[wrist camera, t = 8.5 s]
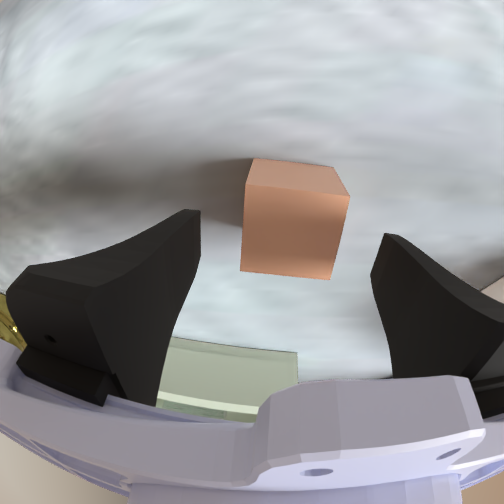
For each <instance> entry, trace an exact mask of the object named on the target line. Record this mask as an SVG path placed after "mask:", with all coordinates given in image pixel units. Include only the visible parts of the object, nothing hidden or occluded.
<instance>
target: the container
mask: <svg viewBox="0 0 504 504" xmlns="http://www.w3.org/2000/svg"><path fill="white" fill-rule="evenodd" d="M480 292H482V293H484V294H485V295H487V296H489V297H491V298H493V299H495V300H497V301H499V302H501V303H503V304H504V277H502V278H501V279H499V280H498V281H496V282H495V283H493V284H491V285H490V286H488V287H487V288H485V289H483V290H482V291H480Z"/></svg>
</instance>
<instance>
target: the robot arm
mask: <svg viewBox="0 0 504 504" xmlns="http://www.w3.org/2000/svg"><path fill="white" fill-rule="evenodd" d="M200 257H201V233H200V210H189V209H184V210H182V211H180V212H178V213H176V214H174V215H172V216H171V217H169V218H167V219H165V220H164V221H162V222H160V223H158V224H157V225H155V226H153V227H151V228H149V229H147V230H145V231H143V232H141V233H140V234H138V235H136V236H134V237H132V238H130V239H127V240H125V241H123V242H120V243H118V244H115V245H113V246H110V247H108V248H105V249H102V250H99V251H96V252H93V253H90V254H86V255H83V256H79V257H75V258H71V259H66V260H62V261H56V262H50V263H43V264H37V265H29V266H28V267H27V268H26V269H25V270H24V271H23V272H22V273H21V274H20V275H19V277H18V278H17V279H16V280H15V281H14V282H13V283H12V284H11V285H10V287H9V288H8V289H7V291H6V304H7V308H8V311H9V313H10V315H11V317H12V319H13V321H14V323H15V325H16V327H17V328H18V330H19V332H20V334H21V335H22V337H23V339H24V341H25V342H26V344H27V346H26V348H25V349H24V351H23V352H22V351H21V350H20V349H18V348H17V347H16V346H14V345H12V344H10V343H8V342H6V341H4V340H2V339H0V432H1V433H3V434H5V435H6V436H7V437H9V438H10V439H12V440H13V441H15V442H17V443H18V444H20V445H21V446H23V447H24V448H26V449H28V450H29V451H31V452H33V453H34V454H36V455H38V456H40V457H41V458H43V459H45V460H47V461H48V462H50V463H52V464H54V465H56V466H58V467H60V468H61V469H63V470H65V471H67V472H69V473H71V474H73V475H76V476H78V477H80V478H82V479H84V480H86V481H88V482H91V483H93V484H95V485H98V486H100V487H102V488H105V489H107V490H110V491H113V492H115V493H118V494H121V495H123V496H126V497H128V501H127V504H463V503H462V495H461V490H463V489H466V488H468V487H470V486H473V485H475V484H477V483H479V482H482V481H484V480H486V479H488V478H490V477H492V476H494V475H496V474H498V473H500V472H502V471H504V304H503V303H501V302H499V301H497V300H495V299H493V298H491V297H489V296H487V295H485V294H484V293H482V292H480V291H478V290H476V289H475V288H473V287H471V286H470V285H468V284H467V283H465V282H464V281H462V280H460V279H459V278H457V277H456V276H455V275H453V274H452V273H450V272H449V271H448V270H446V269H445V268H443V267H442V266H441V265H439V264H438V263H437V262H435V261H434V260H433V259H432V258H430V257H429V256H428V255H426V254H425V253H424V252H422V251H421V250H420V249H418V248H417V247H416V246H414V245H413V244H412V243H410V242H409V241H407V240H406V239H404V238H403V237H401V236H399V235H395V234H389V233H384V236H383V239H382V242H381V245H380V248H379V251H378V254H377V257H376V260H375V262H374V265H373V268H372V271H371V274H370V277H371V283H372V289H373V294H374V298H375V301H376V304H377V308H378V311H379V314H380V317H381V320H382V324H383V327H384V330H385V333H386V337H387V341H388V345H389V349H390V356H391V363H392V372H393V378H392V379H329V380H319V381H309V382H300V383H298V384H295V385H293V386H290V387H287V388H284V389H282V390H279V391H276V392H275V393H273V394H271V395H270V396H269V397H268V398H267V400H266V401H265V402H264V403H263V404H262V405H261V406H260V407H259V409H258V413H257V417H256V422H255V423H245V422H236V421H228V420H221V419H214V418H208V417H202V416H196V415H190V414H185V413H180V412H175V411H170V410H166V409H161V408H157V407H156V402H157V396H158V391H159V386H160V381H161V376H162V371H163V367H164V363H165V359H166V355H167V351H168V347H169V343H170V339H171V336H172V332H173V329H174V326H175V323H176V320H177V318H178V315H179V313H180V311H181V308H182V306H183V304H184V301H185V299H186V297H187V294H188V292H189V290H190V287H191V285H192V283H193V280H194V278H195V275H196V272H197V268H198V264H199V261H200Z"/></svg>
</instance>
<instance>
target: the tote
mask: <svg viewBox="0 0 504 504" xmlns="http://www.w3.org/2000/svg"><path fill="white" fill-rule="evenodd" d="M295 384H298V363H297V353H291V352H280V351H269V350H260V349H251V348H242V347H234V346H227V345H219V344H212V343H206V342H199V341H193V340H187V339H181V338H175V337H171V339H170V343H169V347H168V351H167V355H166V359H165V363H164V367H163V371H162V376H161V381H160V386H159V391H158V396H157V402H156V407H157V408H161V409H162V406H163V403H164V400H168V401H173V402H178V403H183V404H188V405H193V406H199V407H205V408H211V409H218V410H225V411H227V416H226V420H228V421H236V422H245V423H255V422H256V417H257V413H258V409H259V407H260V406H261V405H262V404H263V403H264V402H265V401H266V400H267V398H268V397H269V396H270V395H271V394H273V393H275V392H276V391H279V390H282V389H284V388H287V387H290V386H293V385H295Z"/></svg>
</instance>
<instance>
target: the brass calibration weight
mask: <svg viewBox="0 0 504 504" xmlns="http://www.w3.org/2000/svg"><path fill="white" fill-rule="evenodd" d="M0 339H2V340H4V341H6V342H8V343H10V344H12V345H14V346H16V347H17V348H18V349H20V350H21V351H22V352H23V351H24V349H25V348H26V346H27V344H26V342H25V341H24V339H23V337H22V335H21V334H20V332H19V330H18V328H17V327H16V325H15V323H14V321H13V319H12V317H11V315H10V313H9V311H8V308H7V304H6V296H5V295H3V294H0Z"/></svg>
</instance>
